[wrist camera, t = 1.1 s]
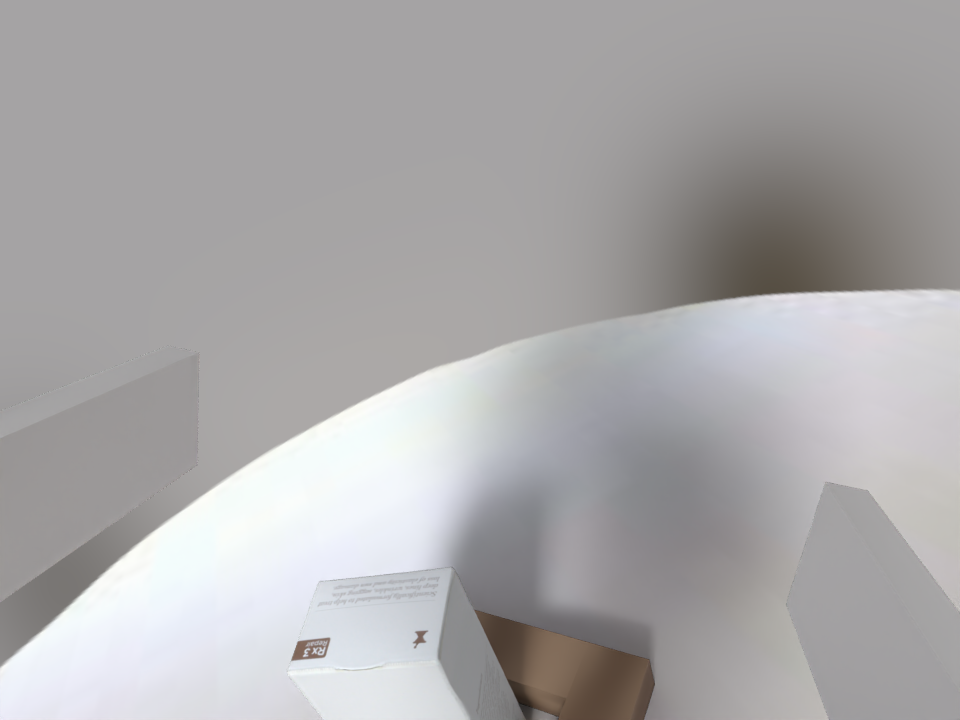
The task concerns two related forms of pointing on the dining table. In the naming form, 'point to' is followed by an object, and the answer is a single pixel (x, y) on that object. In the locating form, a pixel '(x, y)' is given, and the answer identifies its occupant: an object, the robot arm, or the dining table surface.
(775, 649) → the dining table surface
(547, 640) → the socket block
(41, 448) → the robot arm
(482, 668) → the skincare box
